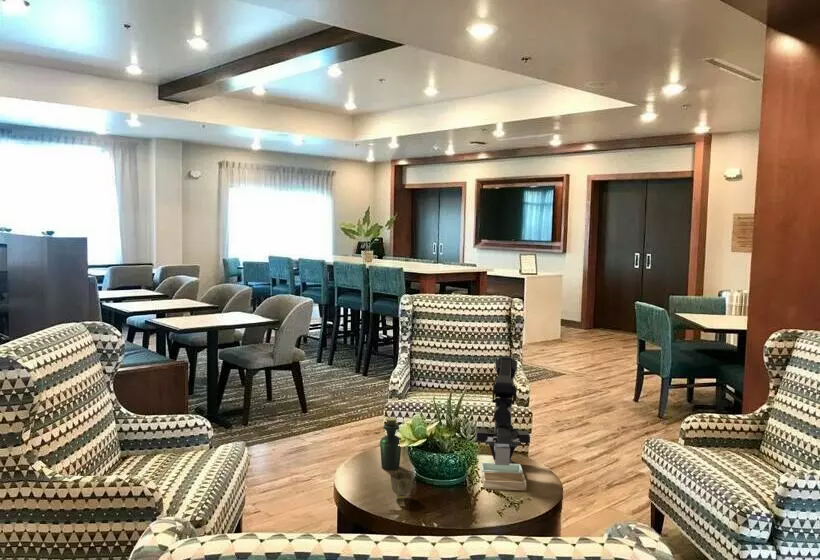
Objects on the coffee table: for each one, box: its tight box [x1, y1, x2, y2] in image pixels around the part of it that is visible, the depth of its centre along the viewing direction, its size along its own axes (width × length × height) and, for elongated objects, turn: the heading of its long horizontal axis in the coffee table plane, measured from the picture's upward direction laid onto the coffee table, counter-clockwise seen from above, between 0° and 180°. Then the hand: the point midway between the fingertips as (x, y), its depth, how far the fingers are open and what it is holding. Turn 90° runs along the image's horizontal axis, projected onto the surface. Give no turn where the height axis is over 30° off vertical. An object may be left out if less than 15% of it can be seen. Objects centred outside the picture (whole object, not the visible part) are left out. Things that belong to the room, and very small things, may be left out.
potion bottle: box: [379, 416, 402, 471], centre depth 232 cm, size 8×8×18 cm
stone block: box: [493, 444, 510, 465], centre depth 225 cm, size 5×5×6 cm
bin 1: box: [480, 462, 524, 476], centre depth 225 cm, size 8×14×4 cm, turn 87°
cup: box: [389, 470, 414, 501], centre depth 204 cm, size 8×7×8 cm
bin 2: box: [481, 472, 528, 491], centre depth 216 cm, size 8×14×4 cm, turn 87°
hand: (501, 459), depth 225 cm, fingers closed on stone block, 5 cm apart
